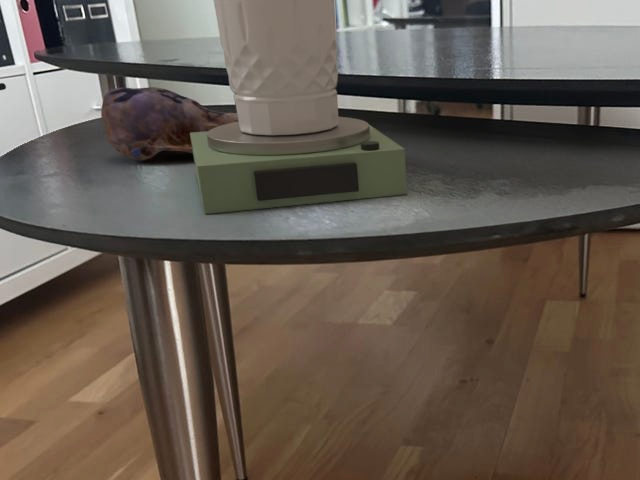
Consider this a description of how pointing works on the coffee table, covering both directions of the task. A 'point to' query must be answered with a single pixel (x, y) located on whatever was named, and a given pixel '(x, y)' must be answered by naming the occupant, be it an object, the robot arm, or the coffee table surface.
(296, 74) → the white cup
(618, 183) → the coffee table surface
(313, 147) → the scale pan
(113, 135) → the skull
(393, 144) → the scale
